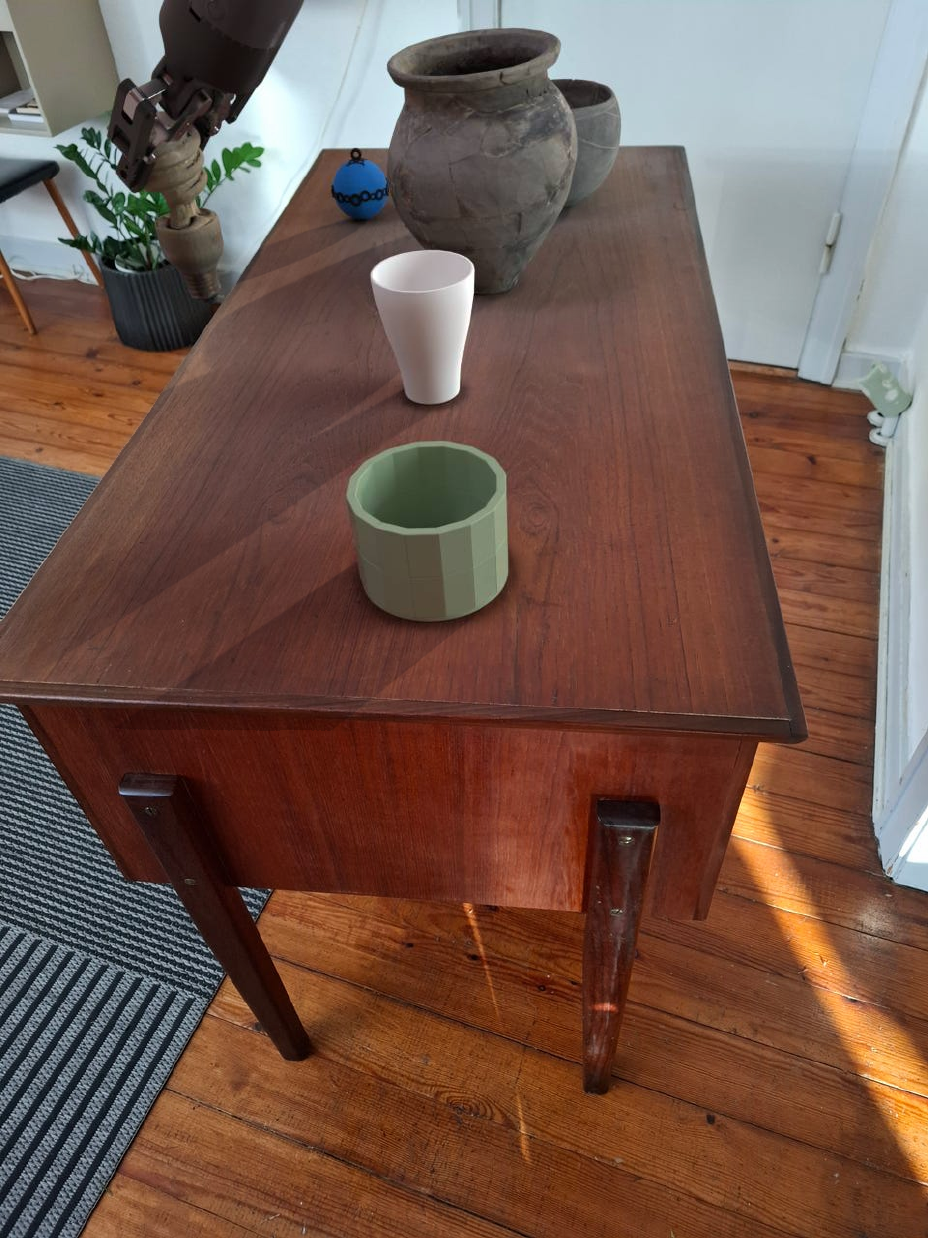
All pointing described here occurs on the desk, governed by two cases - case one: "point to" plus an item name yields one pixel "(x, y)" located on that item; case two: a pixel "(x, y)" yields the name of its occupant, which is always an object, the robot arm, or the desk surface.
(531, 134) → the clay pot
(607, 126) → the bowl
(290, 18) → the robot arm
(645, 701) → the desk surface
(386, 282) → the cup
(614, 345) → the desk surface
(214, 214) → the light bulb
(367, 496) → the pot
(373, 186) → the ornament
